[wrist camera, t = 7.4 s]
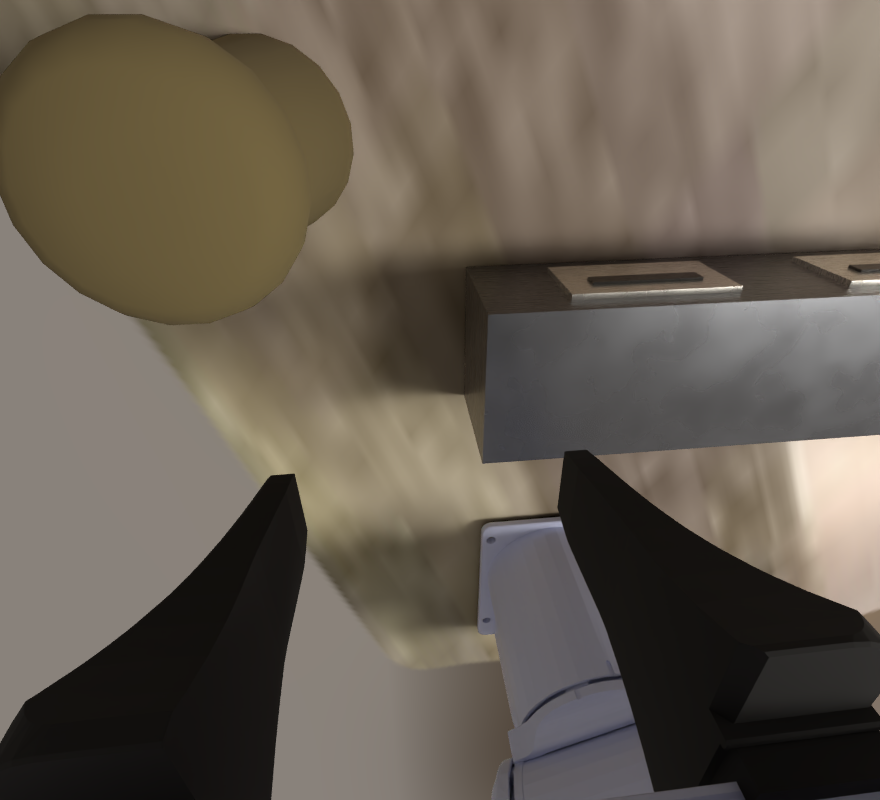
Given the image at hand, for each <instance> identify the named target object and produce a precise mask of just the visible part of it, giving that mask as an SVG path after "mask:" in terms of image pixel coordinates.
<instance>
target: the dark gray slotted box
mask: <svg viewBox="0 0 880 800" xmlns="http://www.w3.org/2000/svg"><path fill="white" fill-rule="evenodd" d="M464 396H465V400H466V404H467V408H468V411H469V415H470V419H471V423H472V426H473V430H474V434H475V437H476V441H477V445H478V449H479V452H480V456H481V460H482V464H484V463H497V462H511V461H525V460H539V459H552V458H564V452H565V451H575V450H588V451H589V452H590V453H591V454H593V455H607V454H621V453H635V452H648V451H662V450H676V449H690V448H703V447H717V446H731V445H745V444H758V443H772V442H786V441H800V440H813V439H827V438H841V437H854V436H868V435H880V249H874V250H850V251H827V252H804V253H781V254H758V255H734V256H711V257H688V258H665V259H642V260H618V261H595V262H572V263H549V264H526V265H502V266H479V267H466V306H465V379H464Z"/></svg>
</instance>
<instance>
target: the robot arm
mask: <svg viewBox="0 0 880 800" xmlns="http://www.w3.org/2000/svg"><path fill="white" fill-rule="evenodd" d="M558 511H559V515H560V517H552V518H539V519H527V520H515V521H503V522H490V523H487V524H485V525H484V526H483V527H482V529H481V548H480V573H479V597H478V622H477V627H478V632H479V633H480V634H483V635H487V634H495V638H496V643H497V647H498V652H499V657H500V662H501V667H502V671H503V677H504V681H505V686H506V691H507V696H508V701H509V705H510V710H511V715H512V720H513V724H514V726H515V729H512V730H510V731H509V732H508V737H509V741H510V747H511V752H512V758H510V759H506V760H504V761H503V762H502V763H501V764H500V766H499V769H498V771H497V777H496V781H495V784H494V786H493V791H492V799H491V800H880V731H879V730H880V716H879V714H878V713H877V712H876V711H875V709H874V708H873V707H872V706H871V705H872V703H873V702H874V701H875V699H876V698H877V697H878V696H879V694H880V634H879V633H878V632H877V631H876V630H875V629H874V628H873V627H872V625H871V624H870V623H869V622H868V621H867V620H866V619H865V618H864V617H863V616H862V615H861V614H860V613H859V612H858V611H857V610H855V609H852V608H849V607H847V606H844V605H842V604H839V603H836V602H834V601H831V600H829V599H826V598H823V597H821V596H818V595H816V594H813V593H811V592H808V591H806V590H803V589H801V588H798V587H796V586H794V585H792V584H790V583H787V582H785V581H783V580H781V579H778V578H776V577H774V576H772V575H770V574H768V573H766V572H763V571H761V570H759V569H757V568H755V567H753V566H751V565H749V564H747V563H746V562H744V561H742V560H740V559H738V558H736V557H734V556H732V555H730V554H729V553H727V552H725V551H723V550H721V549H720V548H718V547H716V546H714V545H713V544H711V543H709V542H708V541H706V540H705V539H703V538H701V537H700V536H698V535H697V534H695V533H693V532H692V531H690V530H688V529H687V528H685V527H684V526H682V525H681V524H679V523H678V522H676V521H675V520H674V519H672V518H671V517H670V516H668V515H667V514H665V513H664V512H663V511H661V510H660V509H658V508H657V507H656V506H654V505H653V504H652V503H650V502H649V501H648V500H647V499H645V498H644V497H643V496H641V495H640V494H639V493H638V492H636V491H635V490H634V489H633V488H631V487H630V486H629V485H628V484H627V483H625V482H624V481H623V480H622V479H621V478H619V477H618V476H617V475H616V474H615V473H614V472H612V471H611V470H610V469H609V468H608V467H607V466H605V465H604V464H603V463H602V462H601V461H600V460H599V459H597V458H596V457H595V456H594V455H593V454H591V453H590V452H589V451H588V450H575V451H565V452H564V460H563V468H562V476H561V484H560V492H559V500H558ZM489 537H492V538H489ZM306 542H307V526H306V522H305V517H304V513H303V509H302V504H301V500H300V496H299V491H298V487H297V482H296V478H295V474H284V475H272V476H270V477H269V478H268V479H267V480H266V482H265V483H264V485H263V486H262V487H261V489H260V490H259V491H258V493H257V494H256V496H255V497H254V498H253V500H252V501H251V503H250V504H249V505H248V506H247V508H246V509H245V511H244V512H243V513H242V515H241V516H240V517H239V518H238V519H237V521H236V522H235V523H234V525H233V526H232V527H231V528H230V530H229V531H228V532H227V533H226V535H225V536H224V537H223V538H222V540H221V541H220V542H219V543H218V544H217V545H216V546H215V548H214V549H213V550H212V551H211V552H210V553H209V554H208V556H207V557H206V558H205V559H204V560H203V561H202V562H201V563H200V564H199V566H198V567H197V568H196V569H195V570H194V571H193V572H192V573H191V574H190V575H189V576H188V577H187V578H186V579H185V580H184V581H183V582H182V583H181V584H180V585H179V586H178V587H177V588H176V589H175V590H174V591H173V592H172V593H171V594H170V595H169V596H167V597H166V598H165V599H164V600H163V601H162V602H161V603H160V604H158V605H157V606H156V607H155V608H154V609H152V610H151V611H150V612H149V613H148V614H147V615H146V616H144V617H143V618H142V619H141V620H140V621H138V622H137V623H136V624H135V625H134V626H133V627H131V628H130V629H129V630H128V631H126V632H125V633H124V634H122V635H121V636H120V637H119V638H117V639H116V640H115V641H113V642H112V643H111V644H110V645H108V646H107V647H105V648H104V649H103V650H101V651H100V652H99V653H97V654H96V655H95V656H93V657H92V658H90V659H89V660H88V661H86V662H85V663H84V664H82V665H80V666H79V667H78V668H76V669H75V670H73V671H72V672H70V673H69V674H67V675H66V676H64V677H62V678H61V679H59V680H58V681H57V682H55V683H53V684H52V685H50V686H49V687H47V688H46V689H44V690H43V691H41V692H40V693H38V694H37V695H35V696H34V697H32V698H30V699H29V700H27V701H26V702H25V703H24V705H23V706H22V708H21V709H20V711H19V713H18V714H17V716H16V717H15V719H14V720H13V722H12V723H11V725H10V727H9V729H8V730H7V732H6V734H5V736H4V738H3V739H2V741H1V743H0V800H271V794H272V782H273V768H274V758H275V757H274V756H275V745H276V735H277V724H278V715H279V705H280V696H281V687H282V678H283V670H284V662H285V656H286V651H287V645H288V640H289V636H290V631H291V627H292V622H293V617H294V613H295V608H296V604H297V599H298V594H299V589H300V584H301V580H302V575H303V570H304V564H305V554H306Z"/></svg>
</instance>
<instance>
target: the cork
mask: <svg viewBox="0 0 880 800" xmlns="http://www.w3.org/2000/svg"><path fill="white" fill-rule="evenodd" d="M352 159H353V143H352V132H351V123H350V120H349V118H348V115H347V113H346V110H345V107H344V105H343V102H342V100H341V97H340V94H339V92H338V91H337V90H336V88H335V87H334V86H333V84H332V83H331V81H330V80H329V79H328V77H327V76H326V75H325V73H324V72H323V71H322V69H321V68H320V67H319V65H317V64H316V63H315V62H313V61H312V60H311V59H310V58H308V57H307V56H306V55H304V54H303V53H302V52H301V51H299V50H298V49H297V48H295V47H294V46H293V45H291V44H288V43H285V42H283V41H280V40H277V39H274V38H271V37H269V36H266V35H263V34H228V35H225V36H222V37H220V38H217V39H214V40H210V39H209V38H208V37H205V36H202V35H199V34H197V33H194V32H191V31H188V30H185V29H182V28H180V27H177V26H174V25H171V24H168V23H165V22H163V21H160V20H157V19H154V18H151V17H148V16H145V15H142V14H94V15H86V16H83V17H81V18H79V19H77V20H74V21H72V22H70V23H68V24H65V25H63V26H61V27H58V28H56V29H54V30H52V31H49V32H47V33H45V34H43V35H41V36H39V37H37V38H35V39H33V40H31V41H29V42H28V44H27V45H26V46H25V47H24V48H23V50H22V51H21V52H20V53H19V54H18V56H17V57H16V58H15V59H14V60H13V62H12V63H11V64H10V65H9V66H8V68H7V69H6V70H5V71H4V72H3V74H2V75H1V76H0V196H1V198H2V200H3V203H4V205H5V207H6V210H7V212H8V214H9V217H10V219H11V221H12V223H13V225H14V227H15V228H16V229H17V231H18V232H19V233H20V234H21V236H22V237H23V238H24V239H25V241H26V242H27V243H28V245H29V246H30V247H31V248H32V250H33V251H34V252H35V254H36V255H37V256H38V258H39V259H40V260H41V261H42V263H43V264H44V265H46V266H47V267H48V268H49V269H51V270H52V271H53V272H54V273H56V274H57V275H58V276H59V277H61V278H62V279H63V280H64V281H66V282H67V283H68V284H69V285H70V286H72V287H73V288H74V289H75V290H77V291H78V292H79V293H81V294H83V295H85V296H87V297H89V298H91V299H93V300H95V301H97V302H99V303H101V304H103V305H105V306H107V307H109V308H111V309H113V310H115V311H117V312H119V313H122V314H124V315H127V316H131V317H136V318H140V319H145V320H149V321H154V322H158V323H163V324H167V325H181V324H202V323H211V322H214V321H217V320H219V319H222V318H225V317H228V316H230V315H233V314H236V313H238V312H241V311H244V310H246V309H248V308H250V307H253V306H255V305H256V304H257V303H258V302H260V301H261V300H262V299H263V298H264V297H266V296H267V295H268V294H269V293H270V292H271V291H273V290H274V289H275V288H276V287H277V286H279V285H280V284H281V283H282V282H283V281H284V279H285V277H286V275H287V274H288V272H289V270H290V268H291V267H292V265H293V263H294V261H295V260H296V258H297V256H298V254H299V252H300V251H301V249H302V247H303V244H304V242H305V237H306V231H307V226H309V225H310V224H312V223H314V222H315V221H317V220H318V219H319V218H320V217H321V216H322V215H324V214H325V213H326V212H327V211H328V210H329V209H331V208H332V207H333V206H334V205H335V204H336V202H337V200H338V198H339V197H340V195H341V193H342V191H343V190H344V188H345V186H346V184H347V183H348V179H349V174H350V169H351V164H352Z"/></svg>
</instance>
